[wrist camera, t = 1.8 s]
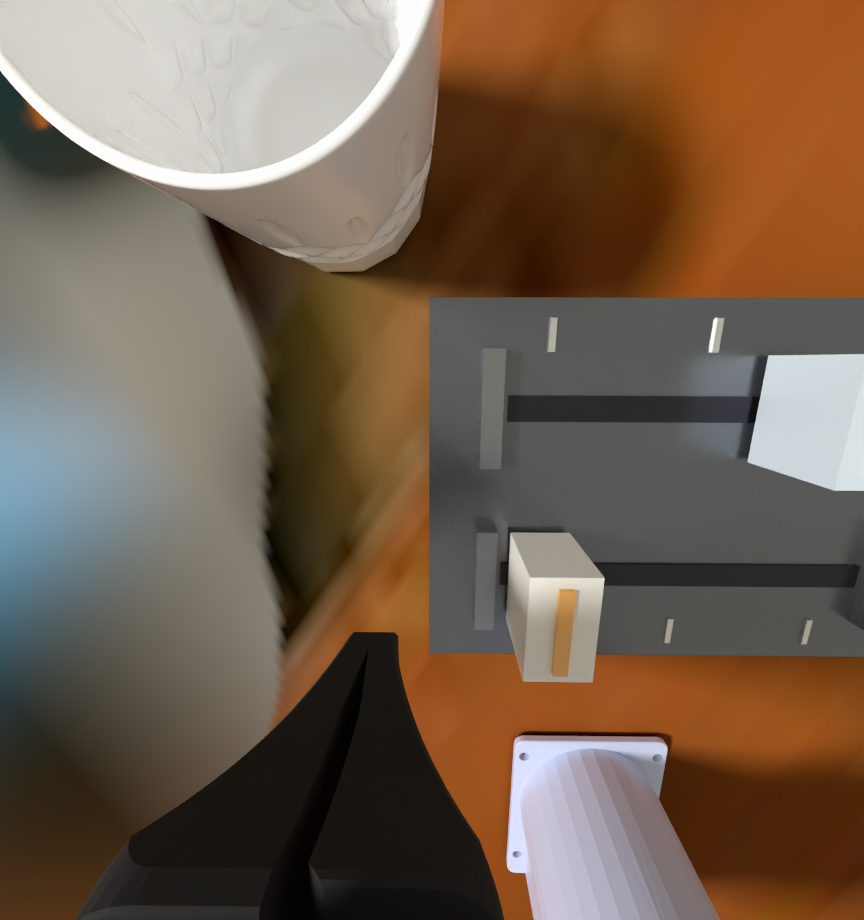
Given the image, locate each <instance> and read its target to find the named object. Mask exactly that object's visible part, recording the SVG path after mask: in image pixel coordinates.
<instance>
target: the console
mask: <svg viewBox="0 0 864 920" xmlns="http://www.w3.org/2000/svg"><path fill="white" fill-rule="evenodd" d="M837 354H864V298H594V297H430V536H429V653H498V654H515V650H514V647H513V643H512V639H511V636H510V632H509V628H508V625H507V621H506V607H507V589H508V571H509V552H510V534H511V533H570V534H571V535H572V536H573V538H574V539H575V540H576V542H577V543H578V544H579V546H580V547H581V548H582V549H583V551H584V552H585V553H586V555H587V556H588V557H589V558H590V560H591V561H592V562H593V564H594V565H595V566H596V567H597V569H598V570H599V571H600V573H601V574H602V575H603V576H604V578H605V580H604V589H603V597H602V606H601V614H600V623H599V631H598V640H597V648H596V654H607V655H716V656H825V657H864V491H834V490H831V489H828V488H824V487H821V486H818V485H815V484H812V483H809V482H806V481H803V480H800V479H797V478H794V477H791V476H788V475H785V474H782V473H779V472H776V471H773V470H770V469H767V468H763V467H760V466H757V465H754V464H751V463H748V456H749V451H750V446H751V441H752V436H753V431H754V426H755V421H756V416H757V411H758V406H759V401H760V396H761V391H762V385H763V380H764V375H765V370H766V365H767V360H768V355H837Z"/></svg>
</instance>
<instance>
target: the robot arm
mask: <svg viewBox="0 0 864 920" xmlns="http://www.w3.org/2000/svg"><path fill="white" fill-rule="evenodd" d="M667 752H668V747H667V745H666V743H665V742H664V740H663V739H662V738H660V737H631V736H538V735H523V736H519V737H517V738H516V739H515V741H514V750H513V765H512V780H511V796H510V811H509V826H508V842H507V857H506V861H507V867H508V869H509V870H510V871H511V872H514V873H526V879H527V884H528V890H529V896H530V901H531V907H532V913H533V919H534V920H720V919H719V917H718V915H717V913H716V911H715V909H714V907H713V905H712V903H711V901H710V899H709V897H708V895H707V893H706V891H705V889H704V887H703V885H702V883H701V881H700V879H699V877H698V875H697V873H696V871H695V870H694V868H693V866H692V864H691V862H690V860H689V858H688V856H687V854H686V852H685V850H684V848H683V846H682V844H681V842H680V840H679V838H678V836H677V834H676V832H675V830H674V828H673V826H672V824H671V822H670V820H669V818H668V816H667V814H666V812H665V810H664V808H663V807H662V805H661V803H660V801H659V796H660V790H661V785H662V779H663V774H664V768H665V763H666V757H667ZM522 753H523V754H522ZM75 920H504V917H503V913H502V908H501V904H500V900H499V896H498V893H497V889H496V886H495V883H494V880H493V877H492V874H491V871H490V868H489V865H488V862H487V860H486V857H485V854H484V851H483V849H482V846H481V843H480V840H479V839H478V837H477V836H476V834H475V833H474V831H473V830H472V828H471V827H470V825H469V824H468V822H467V821H466V819H465V818H464V816H463V815H462V813H461V812H460V810H459V808H458V807H457V805H456V803H455V802H454V800H453V798H452V797H451V795H450V793H449V792H448V790H447V788H446V786H445V785H444V783H443V781H442V779H441V777H440V775H439V773H438V771H437V769H436V767H435V765H434V764H433V762H432V760H431V758H430V756H429V753H428V751H427V749H426V747H425V744H424V742H423V740H422V738H421V735H420V733H419V730H418V728H417V725H416V723H415V720H414V717H413V714H412V712H411V708H410V705H409V702H408V699H407V696H406V692H405V689H404V685H403V680H402V676H401V672H400V667H399V654H398V635H397V634H395V633H388V632H354V633H353V634H352V635H351V636H350V637H349V639H348V640H347V642H346V643H345V644H344V646H343V647H342V649H341V650H340V652H339V653H338V654H337V656H336V657H335V659H334V660H333V661H332V663H331V664H330V665H329V667H328V668H327V669H326V670H325V672H324V673H323V674H322V675H321V677H320V678H319V679H318V681H317V682H316V683H315V684H314V686H313V687H312V688H311V689H310V690H309V691H308V692H307V694H306V695H305V696H304V697H303V698H302V699H301V700H300V702H299V703H298V704H297V705H296V706H295V707H294V708H293V709H292V711H291V712H290V713H289V714H288V715H287V716H286V717H285V718H284V719H283V720H282V721H281V722H280V723H279V724H278V725H277V726H276V727H275V728H274V729H273V730H272V731H271V732H270V733H269V734H268V735H267V736H266V737H265V738H264V739H262V740H261V741H260V742H259V743H258V744H257V745H256V746H255V747H254V748H252V749H251V750H250V751H249V752H248V753H247V754H246V755H245V756H243V757H242V758H241V759H240V760H239V761H238V762H237V763H235V764H234V765H233V766H232V767H230V768H229V769H228V770H227V771H225V772H224V773H223V774H221V775H220V776H219V777H218V778H216V779H215V780H214V781H213V782H211V783H210V784H208V785H207V786H206V787H204V788H203V789H202V790H200V791H199V792H197V793H196V794H195V795H194V796H192V797H191V798H189V799H188V800H186V801H185V802H183V803H182V804H181V805H179V806H178V807H176V808H174V809H173V810H171V811H170V812H168V813H167V814H165V815H164V816H162V817H161V818H159V819H158V820H156V821H155V822H153V823H152V824H150V825H148V826H147V827H145V828H144V829H142V830H141V831H139V832H138V833H136V834H134V835H132V836H131V837H130V838H129V839H128V841H127V842H126V844H125V845H124V846H123V848H122V849H121V851H120V852H119V853H118V854H117V856H116V857H115V858H114V860H113V861H112V862H111V864H110V866H109V867H108V868H107V870H106V871H105V873H104V874H103V876H102V877H101V879H100V880H99V882H98V884H97V885H96V887H95V888H94V890H93V892H92V893H91V895H90V896H89V898H88V899H87V901H86V902H85V904H84V905H83V907H82V909H81V911H80V912H79V913H78V915H77V916H76V918H75Z"/></svg>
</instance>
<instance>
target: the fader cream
mask: <svg viewBox="0 0 864 920" xmlns="http://www.w3.org/2000/svg"><path fill="white" fill-rule="evenodd" d="M604 580H605V578H604V576H603V575H602V574H601V573H600V571H599V570H598V569H597V567H596V566H595V565H594V564H593V562H592V561H591V560H590V558H589V557H588V556H587V555H586V553H585V552H584V551H583V549H582V548H581V547H580V546H579V544H578V543H577V542H576V540H575V539H574V538H573V536H572V535H571V534H570V533H511V534H510V552H509V571H508V589H507V607H506V621H507V625H508V628H509V632H510V636H511V639H512V643H513V647H514V650H515V654H516V658H517V661H518V665H519V669H520V673H521V676H522V680H523V682H593V674H594V665H595V657H596V648H597V640H598V631H599V623H600V614H601V606H602V597H603V589H604Z"/></svg>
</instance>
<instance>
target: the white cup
mask: <svg viewBox="0 0 864 920" xmlns="http://www.w3.org/2000/svg"><path fill="white" fill-rule="evenodd" d="M444 7H445V0H0V71H1V72H2V73H3V75H4V76H5V77H6V78H7V79H8V81H9V82H10V83H11V84H12V85H13V86H14V88H15V89H16V90H17V91H18V92H19V93H20V94H21V95H22V96H23V97H24V98H25V99H26V101H27V102H28V103H29V104H30V105H31V106H32V107H33V108H34V109H36V110H37V111H38V112H39V113H40V114H41V115H42V116H43V117H44V118H45V119H46V120H47V121H49V122H50V123H51V124H52V125H53V126H54V127H56V128H57V129H58V130H59V131H61V132H62V133H63V134H64V135H66V136H67V137H68V138H70V139H71V140H72V141H74V142H75V143H77V144H78V145H80V146H81V147H83V148H84V149H86V150H87V151H89V152H91V153H92V154H94V155H95V156H97V157H99V158H100V159H102V160H104V161H106V162H108V163H110V164H111V165H113V166H115V167H117V168H119V169H121V170H123V171H125V172H127V173H129V174H131V175H132V176H134V177H136V178H138V179H140V180H142V181H144V182H146V183H148V184H149V185H151V186H153V187H155V188H157V189H159V190H161V191H163V192H165V193H166V194H168V195H170V196H172V197H174V198H176V199H178V200H179V201H181V202H183V203H185V204H187V205H189V206H191V207H193V208H194V209H196V210H198V211H200V212H202V213H203V214H205V215H207V216H209V217H211V218H213V219H215V220H217V221H218V222H220V223H222V224H224V225H226V226H228V227H230V228H231V229H233V230H235V231H237V232H239V233H241V234H243V235H244V236H246V237H248V238H250V239H252V240H254V241H256V242H258V243H259V244H261V245H264V246H267V247H269V248H271V249H273V250H275V251H277V252H279V253H281V254H283V255H286V256H290V257H294V258H297V259H299V260H302V261H304V262H306V263H308V264H310V265H312V266H314V267H316V268H318V269H320V270H322V271H324V272H358V271H365V270H366V269H368V268H370V267H372V266H374V265H376V264H377V263H379V262H381V261H383V260H385V259H386V258H388V257H390V256H392V255H394V254H395V253H397V251H398V250H399V249H400V247H401V246H402V244H403V243H404V241H405V240H406V238H407V237H408V236H409V234H410V233H411V231H412V230H413V228H414V227H415V225H416V224H417V222H418V221H419V219H420V215H421V210H422V205H423V199H424V194H425V189H426V183H427V178H428V172H429V169H430V163H431V156H432V147H433V140H434V132H435V124H436V114H437V103H438V90H439V76H440V62H441V48H442V34H443V20H444Z"/></svg>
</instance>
